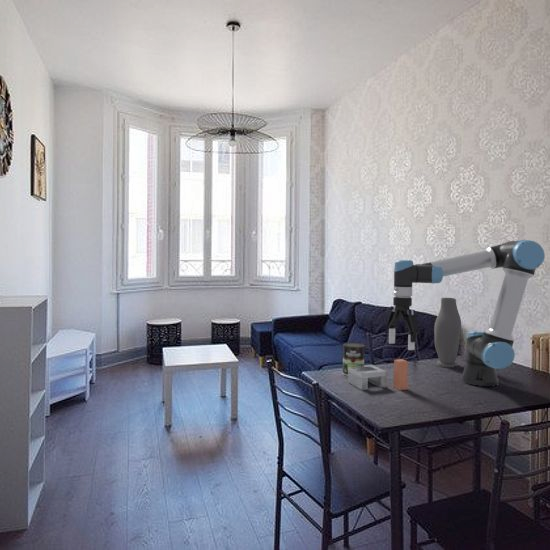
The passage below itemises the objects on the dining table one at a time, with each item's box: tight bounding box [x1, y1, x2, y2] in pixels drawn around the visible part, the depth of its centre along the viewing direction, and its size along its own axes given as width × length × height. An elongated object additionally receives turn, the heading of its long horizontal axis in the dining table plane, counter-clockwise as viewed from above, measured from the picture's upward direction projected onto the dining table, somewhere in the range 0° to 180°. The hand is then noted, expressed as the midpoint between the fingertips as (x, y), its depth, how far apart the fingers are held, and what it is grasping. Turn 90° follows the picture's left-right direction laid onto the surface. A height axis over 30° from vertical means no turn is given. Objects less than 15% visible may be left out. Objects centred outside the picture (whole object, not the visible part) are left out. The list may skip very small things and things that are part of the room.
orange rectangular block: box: [393, 358, 409, 391], centre depth 188 cm, size 4×4×12 cm
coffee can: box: [342, 342, 366, 377], centre depth 210 cm, size 10×10×14 cm
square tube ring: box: [347, 364, 388, 391], centre depth 193 cm, size 12×12×7 cm
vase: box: [433, 297, 462, 368], centre depth 227 cm, size 13×13×35 cm
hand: (401, 346), depth 187 cm, fingers open, 13 cm apart
